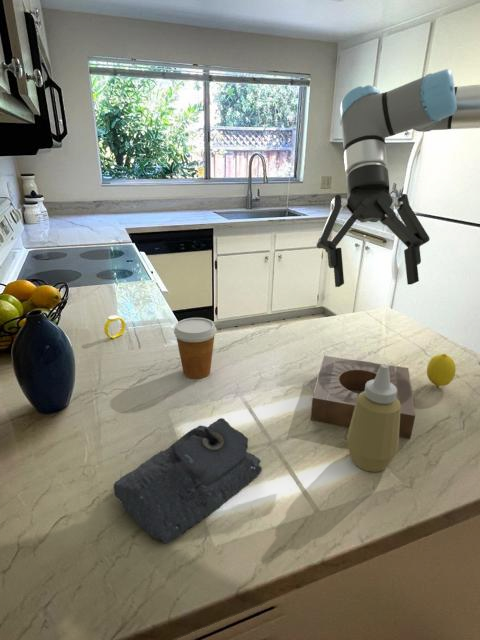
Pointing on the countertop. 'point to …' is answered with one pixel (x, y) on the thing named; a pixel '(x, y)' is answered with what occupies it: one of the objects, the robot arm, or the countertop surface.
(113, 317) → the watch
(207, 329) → the disposable coffee cup
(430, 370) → the lemon
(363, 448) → the squeeze bottle
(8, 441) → the countertop surface
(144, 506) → the iron doorstop weight
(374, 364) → the holder
